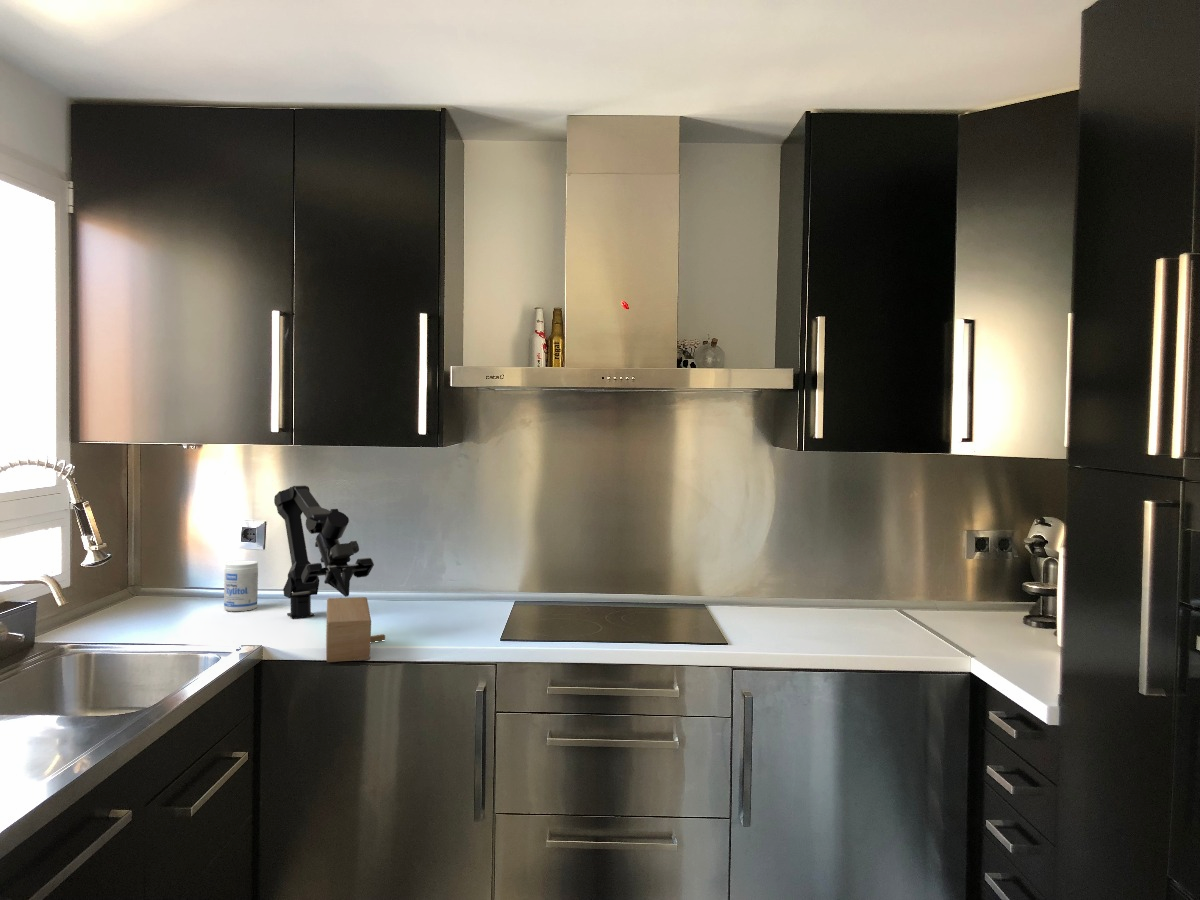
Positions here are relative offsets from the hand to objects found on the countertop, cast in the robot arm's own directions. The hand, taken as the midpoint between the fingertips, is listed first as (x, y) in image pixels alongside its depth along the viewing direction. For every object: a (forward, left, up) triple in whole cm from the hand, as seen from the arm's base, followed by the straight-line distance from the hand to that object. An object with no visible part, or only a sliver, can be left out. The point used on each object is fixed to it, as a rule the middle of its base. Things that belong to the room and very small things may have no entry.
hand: (347, 595), depth 209 cm
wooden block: (+5, -2, -4) cm, 7 cm away
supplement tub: (-53, -17, -12) cm, 57 cm away
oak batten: (+9, 0, -11) cm, 14 cm away
